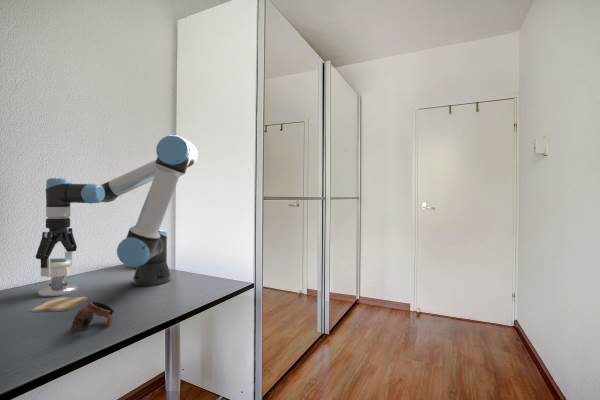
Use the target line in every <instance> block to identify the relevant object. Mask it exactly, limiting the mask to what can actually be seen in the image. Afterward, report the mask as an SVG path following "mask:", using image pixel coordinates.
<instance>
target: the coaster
mask: <svg viewBox="0 0 600 400" xmlns="http://www.w3.org/2000/svg"><path fill="white" fill-rule="evenodd" d="M87 300H88V296H71V297H70V296H69V297H52V299H49V300H47V301H46V302H44V303H41V304H40V305H38V306H35V307H33V308H31V313H32V312H34V313H35V312H58V311H59V312H60V311H62V312H64V311H70V310H72V309H73V308H75V307H77V306H78V305H80V304H82V303H83V302H84V301H87Z"/></svg>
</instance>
